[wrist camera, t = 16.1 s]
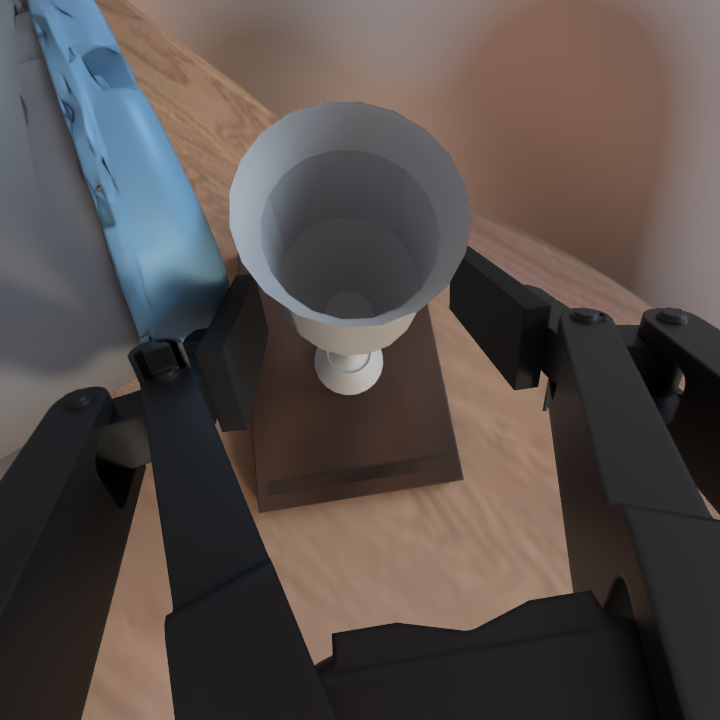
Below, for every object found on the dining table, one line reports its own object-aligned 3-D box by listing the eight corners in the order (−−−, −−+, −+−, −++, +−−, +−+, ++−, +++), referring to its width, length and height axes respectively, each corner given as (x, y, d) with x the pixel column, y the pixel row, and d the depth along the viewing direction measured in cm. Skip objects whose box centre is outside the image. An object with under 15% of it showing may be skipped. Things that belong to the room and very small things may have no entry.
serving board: (263, 510, 27) (258, 513, 26) (242, 254, 32) (236, 244, 30) (458, 478, 28) (464, 480, 26) (408, 234, 33) (411, 223, 31)
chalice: (293, 323, 29) (211, 120, 11) (381, 305, 29) (431, 85, 12) (313, 420, 27) (250, 352, 10) (406, 398, 28) (504, 299, 10)
